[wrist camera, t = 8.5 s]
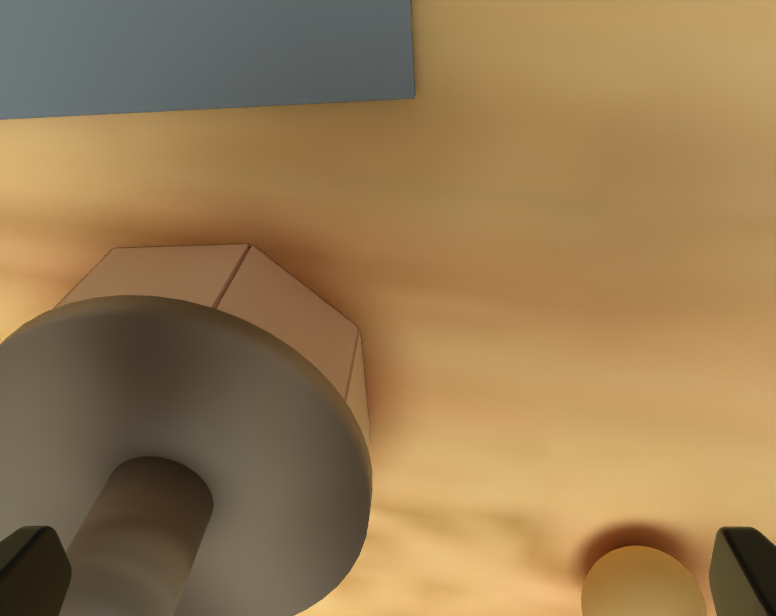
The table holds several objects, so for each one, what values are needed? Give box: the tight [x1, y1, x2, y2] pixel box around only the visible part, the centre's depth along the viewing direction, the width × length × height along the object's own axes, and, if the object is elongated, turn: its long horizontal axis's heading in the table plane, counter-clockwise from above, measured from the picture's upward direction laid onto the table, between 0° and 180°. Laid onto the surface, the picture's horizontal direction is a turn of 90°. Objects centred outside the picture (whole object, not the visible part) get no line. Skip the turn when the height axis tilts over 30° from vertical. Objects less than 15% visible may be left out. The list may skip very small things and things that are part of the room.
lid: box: [0, 295, 372, 616], centre depth 17 cm, size 11×11×5 cm
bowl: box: [53, 244, 370, 447], centre depth 21 cm, size 10×10×4 cm
